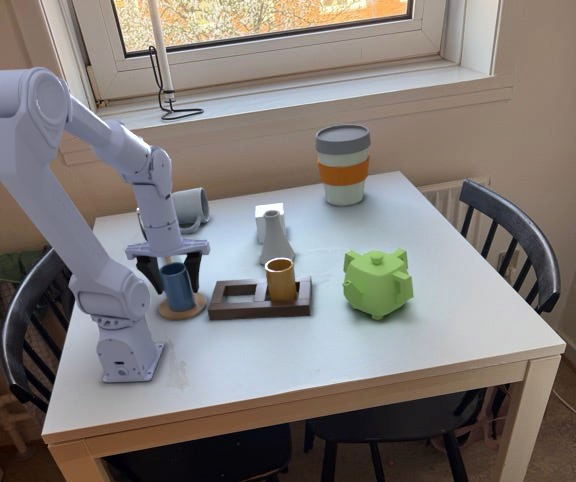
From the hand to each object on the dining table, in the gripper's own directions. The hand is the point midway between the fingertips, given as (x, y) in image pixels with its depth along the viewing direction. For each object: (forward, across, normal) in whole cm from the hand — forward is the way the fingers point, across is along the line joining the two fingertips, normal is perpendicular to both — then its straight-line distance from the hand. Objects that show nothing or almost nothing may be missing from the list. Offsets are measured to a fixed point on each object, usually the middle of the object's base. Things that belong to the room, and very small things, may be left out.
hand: (178, 291), depth 100 cm
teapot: (+4, -36, +3) cm, 36 cm away
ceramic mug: (+4, +6, -36) cm, 37 cm away
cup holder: (+3, -15, 0) cm, 15 cm away
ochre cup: (+3, -19, 0) cm, 19 cm away
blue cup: (+3, 0, 0) cm, 3 cm away
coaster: (+3, 0, 0) cm, 3 cm away
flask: (+4, -16, -16) cm, 23 cm away
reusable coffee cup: (+3, -30, -45) cm, 54 cm away
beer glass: (+4, +4, -11) cm, 12 cm away
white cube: (+4, -14, -27) cm, 31 cm away
